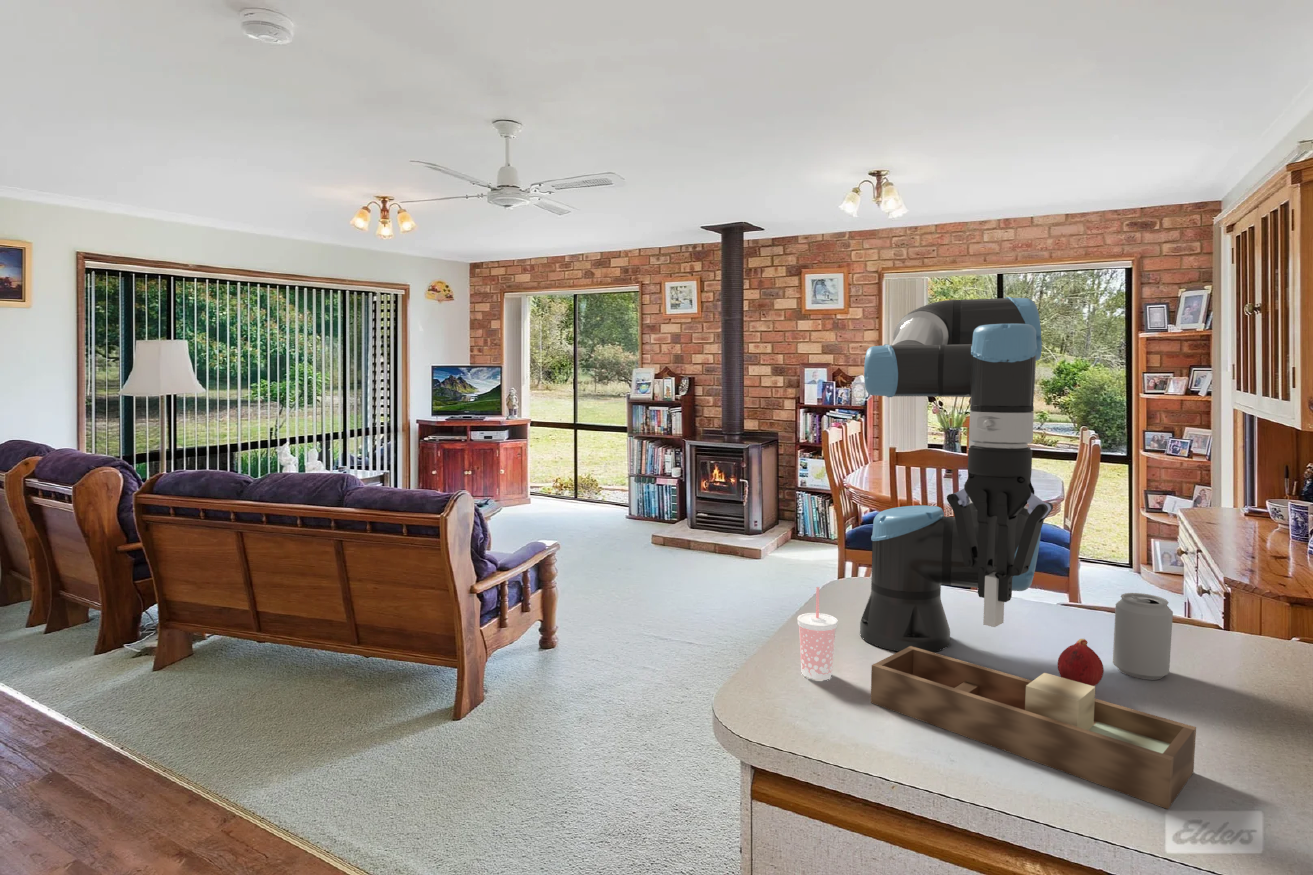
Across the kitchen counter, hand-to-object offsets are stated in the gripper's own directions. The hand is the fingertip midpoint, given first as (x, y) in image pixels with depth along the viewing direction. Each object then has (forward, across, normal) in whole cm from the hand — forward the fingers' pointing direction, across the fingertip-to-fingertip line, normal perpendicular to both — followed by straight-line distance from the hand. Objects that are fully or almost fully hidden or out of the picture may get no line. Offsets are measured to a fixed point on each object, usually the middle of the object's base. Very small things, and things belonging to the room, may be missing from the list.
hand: (993, 623), depth 99 cm
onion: (+14, +4, +20) cm, 25 cm away
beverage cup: (+14, -26, -2) cm, 29 cm away
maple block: (+11, +8, 0) cm, 14 cm away
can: (+14, +8, +36) cm, 39 cm away
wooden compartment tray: (+14, +3, 0) cm, 14 cm away
